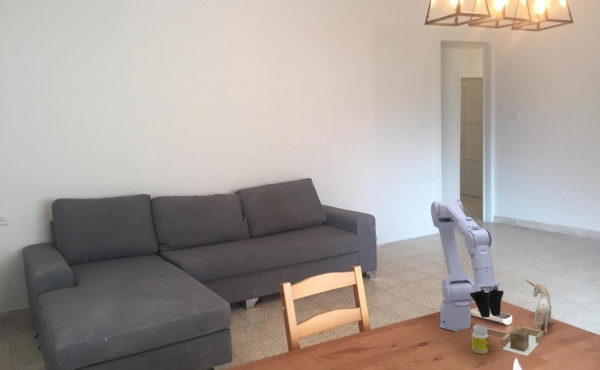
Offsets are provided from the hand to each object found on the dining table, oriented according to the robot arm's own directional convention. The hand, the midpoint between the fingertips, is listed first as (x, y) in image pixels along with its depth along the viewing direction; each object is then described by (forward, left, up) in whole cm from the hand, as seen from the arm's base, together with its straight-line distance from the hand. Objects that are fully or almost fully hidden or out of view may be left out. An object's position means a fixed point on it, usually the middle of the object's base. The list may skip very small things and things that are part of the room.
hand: (491, 316), depth 144 cm
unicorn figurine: (+2, +31, -14) cm, 34 cm away
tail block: (+5, +11, -12) cm, 17 cm away
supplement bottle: (-4, +2, -14) cm, 14 cm away
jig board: (-1, +15, -13) cm, 20 cm away
